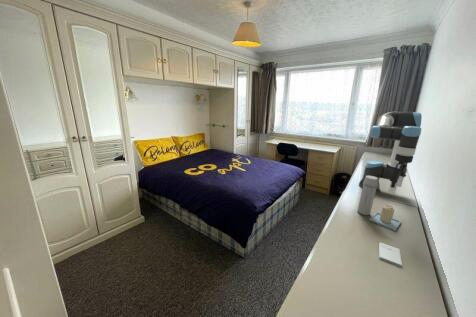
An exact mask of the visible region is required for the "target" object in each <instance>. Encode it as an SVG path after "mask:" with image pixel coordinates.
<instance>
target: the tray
mask: <svg viewBox="0 0 476 317" xmlns="http://www.w3.org/2000/svg"><path fill="white" fill-rule="evenodd" d="M381 213H382V212H381ZM381 213H380V212H378V211H376V212H374V214H373V215H372V216H371V217H369V219H368V221H369V222H372V223H375V224H377V225H379V226H381V227H384V228H386V229H388V230H391V231H394V232H396V231H397V229H398V228H399V227H400V225H401V224H402V221H401V220H398V219H396V218H393V217H392V220H391V223H384V222H382V221H381V220H380V216H381Z"/></svg>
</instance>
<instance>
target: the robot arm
mask: <svg viewBox="0 0 476 317" xmlns="http://www.w3.org/2000/svg"><path fill="white" fill-rule="evenodd" d="M421 125H422V113H421V112H418V111H417V112H416V111H415V112H414V111H396V110H395V111H390V112H389V111H388V112H386V113H383V114H381V115H380V116H379V117H378V119H377V125H373V126H372V127H371V129H370V130H371V131H370V137H371V138H373V139H381V140H392V141H395V142H394V145H393V147H392V153H391V157H390V160H389V161H388V162H386V164H384V162H382V161H379V160H369V161H367V162H366V163H365V166H364V170H363V175H362V178H361V179H360V181H359V182H358V186H359V187H360V188H361V189H362V188H363V182H364V180H365V177H366V176H374V177H377V178H378V184H377V185H378V187H377V189H376V192H378V191H380V188H381V185H380V179H383V180H388V181H390V184H389V188H388V192H389V193H392V194H395V193H396V191H397V190H396V189H397V187H399V188H402V186H403V182H404V179H405V178H406V177H407V173H408V164H411V163H412V162H413V159H414V156H415V154H416V150H417V146H418V144H419V139H420V136H421V133H422V127H421Z"/></svg>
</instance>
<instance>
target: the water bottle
mask: <svg viewBox="0 0 476 317" xmlns="http://www.w3.org/2000/svg"><path fill="white" fill-rule="evenodd" d="M377 184H378V178H377V177H374V176H366V177H365V180H364V182H363V188H361V192H360V193H361V194H360V198H359V202H358V207H357V212H358V213H359V214H362V215H364V216H369V215H371V213H372V212H371V211H372V207H373V204H374V200H375V196H376V193H377V191H376V189H377V187H378V185H377Z"/></svg>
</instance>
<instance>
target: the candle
mask: <svg viewBox="0 0 476 317" xmlns="http://www.w3.org/2000/svg"><path fill="white" fill-rule="evenodd" d="M394 212H395V208H393V206H392V205H388V204H386V205H383V206H382V209H381V216H380V220H381V221H382V222H384V223H391V220H392V218H393V217H394Z"/></svg>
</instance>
